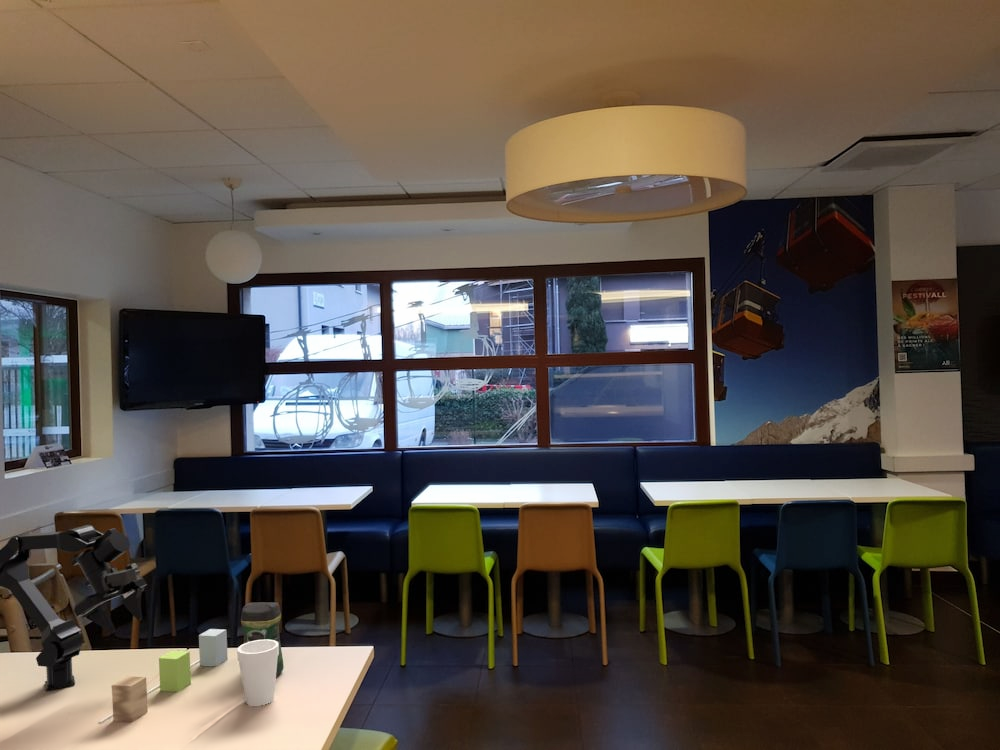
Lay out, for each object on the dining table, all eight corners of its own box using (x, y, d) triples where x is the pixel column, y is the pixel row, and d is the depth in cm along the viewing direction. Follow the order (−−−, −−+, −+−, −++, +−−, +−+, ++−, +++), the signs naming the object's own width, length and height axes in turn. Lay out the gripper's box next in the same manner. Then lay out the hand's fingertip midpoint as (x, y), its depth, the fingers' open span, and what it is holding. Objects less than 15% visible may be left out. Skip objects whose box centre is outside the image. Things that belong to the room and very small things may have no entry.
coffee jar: (287, 668, 202) (284, 598, 202) (275, 680, 195) (272, 607, 194) (252, 668, 203) (249, 598, 203) (239, 680, 196) (236, 607, 195)
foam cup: (268, 710, 177) (266, 654, 177) (231, 708, 179) (229, 653, 179) (287, 693, 186) (285, 639, 186) (252, 691, 188) (250, 638, 188)
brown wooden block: (113, 720, 172) (111, 685, 172) (128, 710, 177) (127, 676, 177) (132, 722, 171) (130, 686, 171) (147, 712, 176) (146, 677, 176)
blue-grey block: (199, 665, 203) (198, 635, 203) (211, 658, 208) (209, 628, 208) (216, 666, 202) (215, 636, 202) (227, 659, 207) (226, 629, 207)
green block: (160, 690, 188) (158, 658, 188) (173, 682, 193) (171, 650, 193) (178, 691, 187) (176, 659, 187) (190, 683, 191) (189, 651, 191)
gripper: (91, 565, 183) (122, 622, 181) (146, 546, 201) (175, 598, 199) (59, 588, 185) (89, 644, 183) (116, 567, 203) (145, 619, 201)
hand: (127, 625), depth 192 cm, fingers open, 9 cm apart
